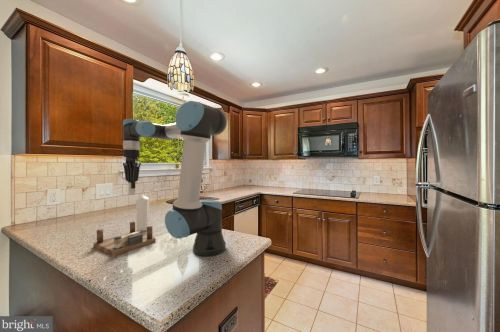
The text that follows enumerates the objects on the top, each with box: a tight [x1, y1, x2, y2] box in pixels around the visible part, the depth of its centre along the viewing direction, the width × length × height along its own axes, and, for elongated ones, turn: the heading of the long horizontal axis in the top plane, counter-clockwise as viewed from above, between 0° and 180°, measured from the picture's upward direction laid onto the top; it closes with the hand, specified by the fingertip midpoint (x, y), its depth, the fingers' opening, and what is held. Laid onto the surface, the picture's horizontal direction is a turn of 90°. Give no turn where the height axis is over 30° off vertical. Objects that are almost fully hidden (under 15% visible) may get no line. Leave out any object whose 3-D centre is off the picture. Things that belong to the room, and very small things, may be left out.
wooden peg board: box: [93, 221, 157, 257], centre depth 106 cm, size 20×20×8 cm
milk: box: [135, 193, 151, 232], centre depth 130 cm, size 6×6×22 cm
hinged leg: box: [114, 230, 142, 248], centre depth 101 cm, size 12×3×5 cm, turn 155°
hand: (131, 194), depth 110 cm, fingers closed
